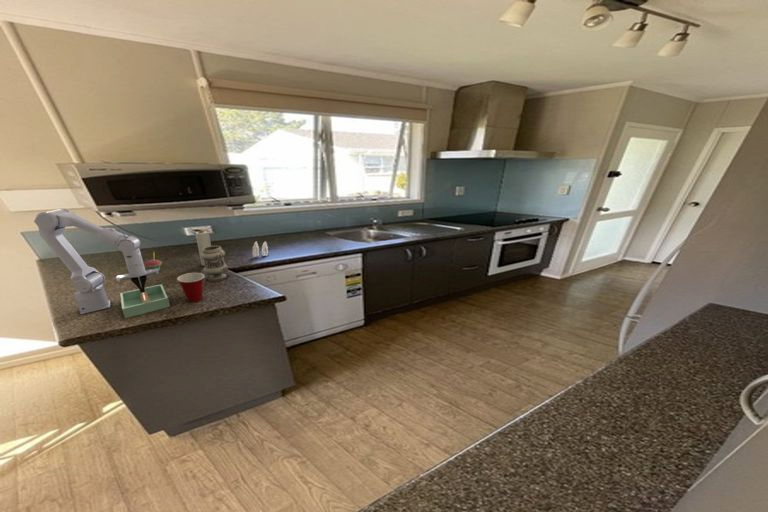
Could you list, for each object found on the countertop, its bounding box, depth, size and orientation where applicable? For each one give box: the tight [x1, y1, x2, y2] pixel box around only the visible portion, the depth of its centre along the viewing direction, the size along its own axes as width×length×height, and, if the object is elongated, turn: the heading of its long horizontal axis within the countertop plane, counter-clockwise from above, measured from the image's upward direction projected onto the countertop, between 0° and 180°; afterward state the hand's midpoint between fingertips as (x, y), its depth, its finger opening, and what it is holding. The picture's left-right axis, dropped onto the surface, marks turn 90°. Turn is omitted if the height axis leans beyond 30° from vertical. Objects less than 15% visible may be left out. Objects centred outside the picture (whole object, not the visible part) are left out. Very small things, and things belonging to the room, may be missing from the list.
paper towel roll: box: [195, 230, 212, 267], centre depth 178 cm, size 7×6×21 cm
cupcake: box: [143, 252, 163, 272], centre depth 167 cm, size 9×8×12 cm
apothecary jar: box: [201, 245, 229, 282], centre depth 159 cm, size 12×12×18 cm
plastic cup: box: [176, 272, 206, 303], centre depth 135 cm, size 11×11×12 cm
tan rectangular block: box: [139, 291, 150, 303], centre depth 132 cm, size 3×15×8 cm, turn 43°
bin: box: [119, 283, 171, 319], centre depth 131 cm, size 16×20×4 cm
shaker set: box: [252, 241, 269, 259], centre depth 196 cm, size 12×4×11 cm, turn 144°
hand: (142, 291), depth 131 cm, fingers closed
